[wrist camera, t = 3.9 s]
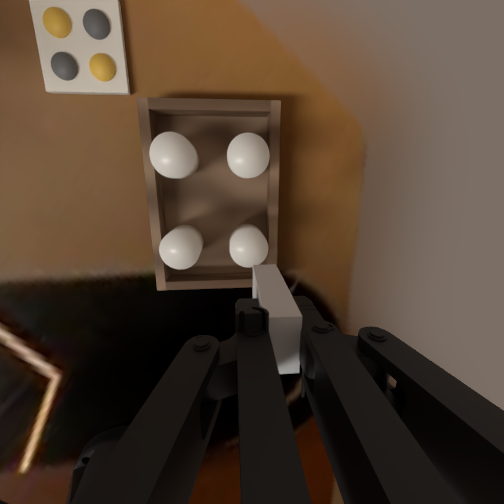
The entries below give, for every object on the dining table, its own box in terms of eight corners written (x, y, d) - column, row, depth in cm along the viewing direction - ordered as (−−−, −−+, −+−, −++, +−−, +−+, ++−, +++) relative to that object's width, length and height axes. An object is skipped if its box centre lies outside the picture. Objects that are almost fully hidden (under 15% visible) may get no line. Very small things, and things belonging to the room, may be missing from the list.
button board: (272, 277, 34) (276, 286, 31) (163, 280, 33) (157, 290, 30) (275, 108, 29) (280, 100, 26) (146, 106, 28) (136, 97, 25)
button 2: (263, 178, 29) (269, 178, 25) (227, 178, 28) (227, 178, 25) (264, 139, 28) (270, 132, 24) (226, 139, 27) (226, 132, 23)
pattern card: (130, 95, 27) (127, 92, 26) (50, 93, 27) (44, 90, 26) (120, 2, 25) (116, -4, 24) (32, -2, 24) (26, -8, 24)
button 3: (204, 257, 31) (200, 268, 27) (169, 258, 30) (161, 270, 26) (202, 224, 29) (198, 230, 26) (166, 224, 29) (157, 231, 25)
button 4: (200, 178, 28) (195, 178, 24) (162, 178, 28) (151, 178, 24) (198, 138, 27) (192, 132, 23) (158, 138, 27) (147, 131, 23)
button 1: (263, 256, 31) (268, 266, 27) (229, 257, 31) (230, 268, 27) (263, 223, 30) (268, 229, 26) (229, 223, 30) (229, 230, 26)
